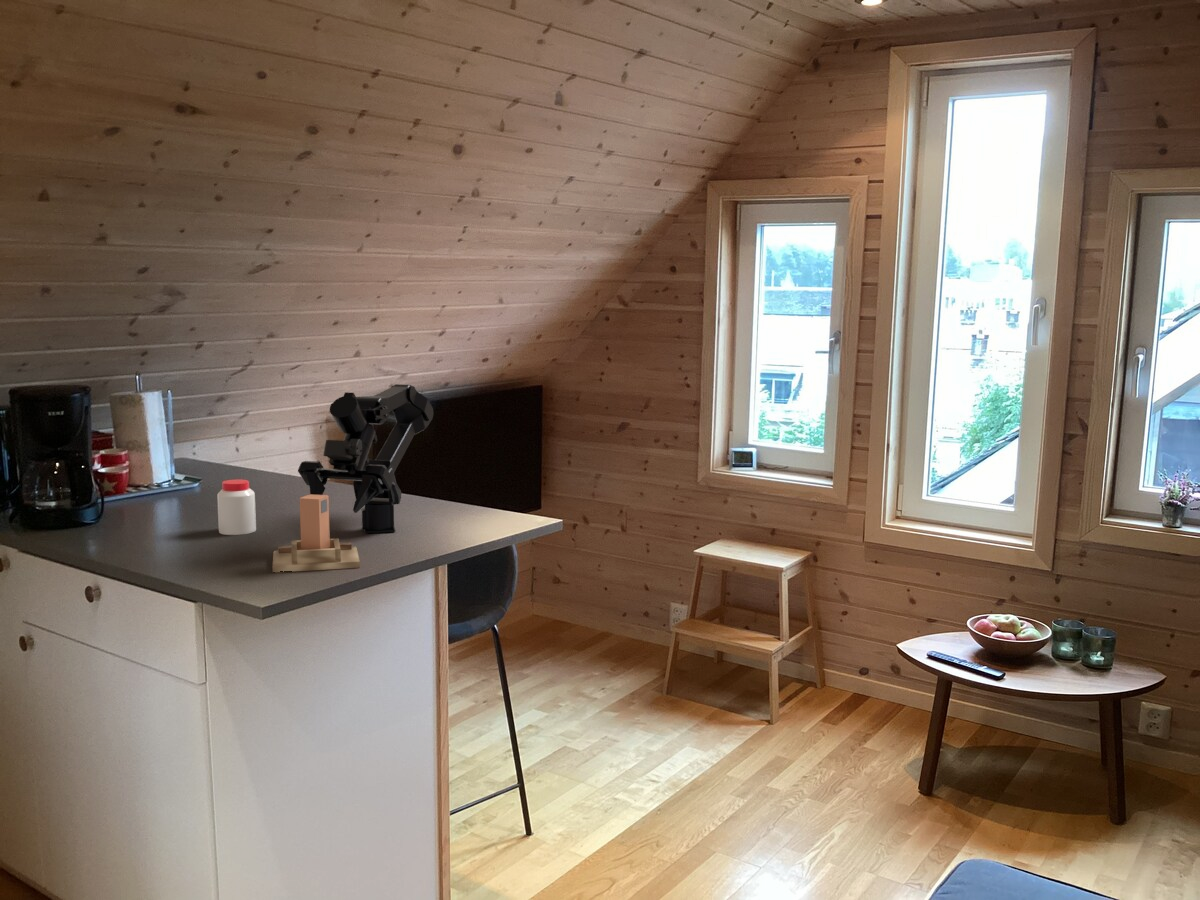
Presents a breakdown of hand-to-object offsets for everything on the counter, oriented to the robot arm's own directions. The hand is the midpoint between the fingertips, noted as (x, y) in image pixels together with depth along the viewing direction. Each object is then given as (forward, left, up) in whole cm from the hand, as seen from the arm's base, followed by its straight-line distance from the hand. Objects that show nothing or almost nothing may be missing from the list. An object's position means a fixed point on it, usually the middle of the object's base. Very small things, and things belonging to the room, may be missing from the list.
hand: (333, 510), depth 214 cm
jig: (+4, +6, -9) cm, 11 cm away
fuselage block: (+4, +7, -8) cm, 11 cm away
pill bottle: (+20, -25, -9) cm, 33 cm away
